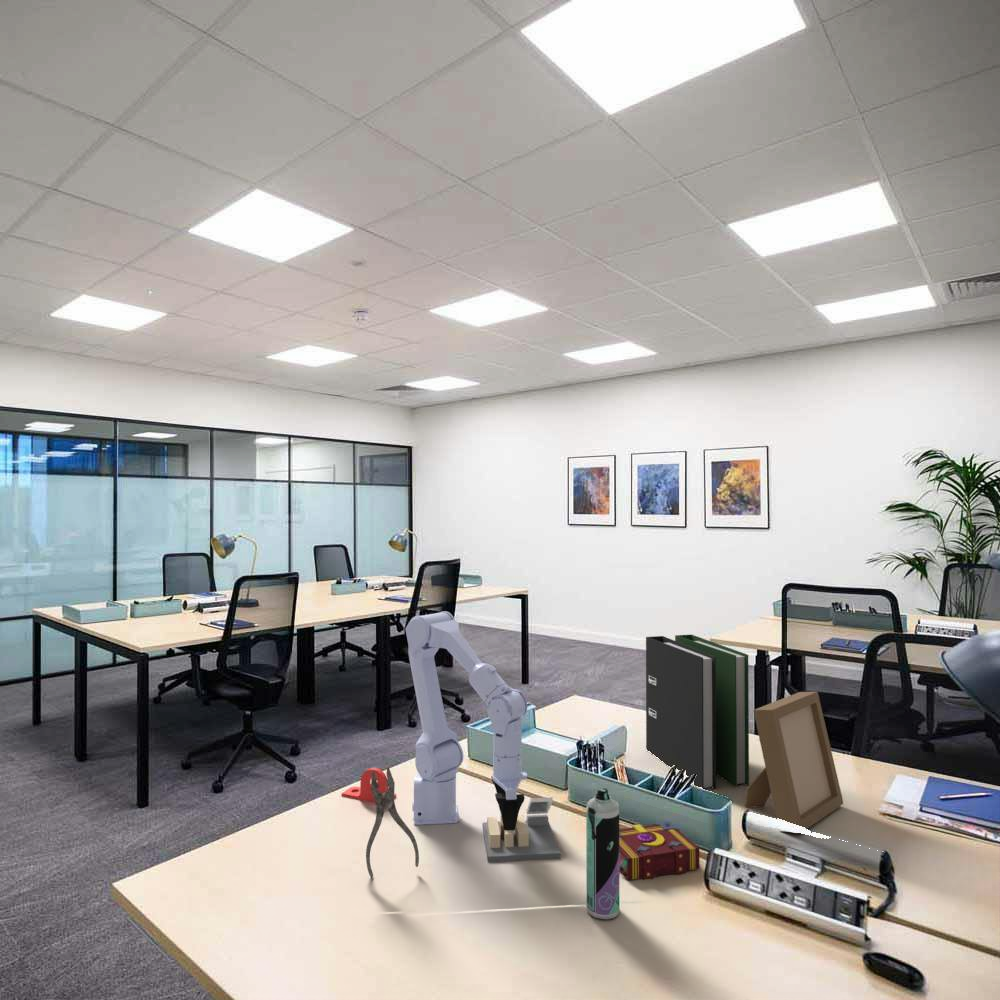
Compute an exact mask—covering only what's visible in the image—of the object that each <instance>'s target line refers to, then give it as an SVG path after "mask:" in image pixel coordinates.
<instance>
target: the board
mask: <svg viewBox="0 0 1000 1000" xmlns="http://www.w3.org/2000/svg"><path fill="white" fill-rule="evenodd" d="M481 825H482V833H483V838H484V839H483V840H484V844H485V845H484V847H485V853H486V859H487V862H488V863H490V862H491V863H492V862H493V863H494V862H495V863H496V862H511V861H534V860H535V861H536V860H551V859H561V850H560V849H559V846H558V843H557V840H556V838H555V835H554V832H553V830H552V827H551V824H550V821H549V816H548V814H526V820H525V816H524V815H518V818H517V823H516V827H515V830H514V838H513V830H508V831H505V830H504V840H502V839H501V821H498V818H497V816H493V817H491V816H488V817H486V822H485V821H483V822H482V824H481Z"/></svg>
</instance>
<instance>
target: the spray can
mask: <svg viewBox="0 0 1000 1000" xmlns="http://www.w3.org/2000/svg"><path fill="white" fill-rule="evenodd" d="M585 811H586V812H585V813H586V815H585V816H586V817H585V818H586V821H585V822H586V825H585V826H586V827H585V828H586V850H585V851H586V852H585V853H586V873H585V874H586V911H587V912H588V914H590V915H591V916H592V917H593V918H596V919H600V920H611V919H614V918H616V917H617V916H619V913H620V870H619V828H620V807H619V803H618V801H616V800H615V799H612V797H611V796H610V795H609V790H608V788H600V789H597V793H596V795H594V797H592V798H590V799H589V800H588V801H586V810H585Z"/></svg>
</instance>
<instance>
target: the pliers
mask: <svg viewBox="0 0 1000 1000" xmlns="http://www.w3.org/2000/svg"><path fill="white" fill-rule="evenodd" d="M386 777H387V781H386V786H388V790H386V791H385V793H382V792H379V791H378V790H377V789H378V788H379V783H378V782H377V780H376V775H375V772H374V769H372V778H371V781H370V783H371V791H372V794H373V798H374V801H375V803H374V804H375V808H376V809H375V811H376V815H375V821H374V824H373V827H372V829H371V833H370V835H369V839H368V840H367V844H366V850H365V863H366V864H365V865H366V869H367V872H368V875H369V877H370V878H371V879H372V878H374V873H373V869H372V866H371V850H372V846H373V843H374V842H375V841H374V840H375V838H376V836H377V834H378V832H379V829H380V828H381V825H382V821H383V818H384V813H385V811H388V813H389V814H390V817H392V819H393V820H394V822H395V823H396V824H397V825H398V826H399V827H400V829H402V830H403V832H404V833H405V834H406V835H407V837H409V839H410V841H411V843H412V845H413V850H414V856H415V858H414V860H415V862H414V863H415V865H414V866H415V867H416V868H417V867H419V863H420V856H419V855H420V853H419V852H420V851H419V847H418V843H417V840H416V838H415V836H414V834H413V832H412V831H411V829H410V828H409V827H408V826H407V824H406V823H405V821H404V820H403V819H402V817H401V816H400V814H399V813H398V811H397V807H396V803H395V798H394V794H395V786H396V785H395V781H394V780H395V779H394V778H393V775H392V772H391V769H390V766H389V765H387V766H386Z"/></svg>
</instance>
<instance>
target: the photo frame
mask: <svg viewBox="0 0 1000 1000" xmlns="http://www.w3.org/2000/svg"><path fill="white" fill-rule="evenodd" d="M752 710H753V715H754V719H755V724H756V730H757V734H758V737H759V738H758V739H759V742H760V743H759V744H760V748H761V752H762V756H763V762H764V765H765V766H764V768H763V769H762V771H760V773H759V774H758V775H757V776H755V778H754V779H753V780H752V782H750V783H749V786H747V787H746V793H745V800H744V801H745V802H744V807H745V808H755V807H758V808H759V807H765V805H766V803H767V801H768V799H769V797H770V795H771V800H772V803H773V808H774V809H773V810H774V813H775V818H776V819H777V818H779V819H782V820H785V821H787V822H790V823H793V824H796V825H799V826H802V827H805V828H808V829H809V828H811V827H812V826H813V825H815V824H816V823H818V822H819V821H821V820H822V819H823V818H825V817H826V816H828V815H829V814H830V813H832V812H834V811H836V809H838V808H840V807H841V806H842V805H843V804H844V800H843V795H842V790H841V786H840V781H839V778H838V773H837V769H836V765H835V761H834V756H833V750H832V748H831V744H830V739H829V735H828V731H827V727H826V726H827V725H826V722H825V718H824V713H823V709H822V706H821V701H820V696H819V692H818V691H799V692H796V693H793V694H792V695H789V696H786V697H783V698H781V699H778V700H776V701H773V702H770V703H767V704H765V705H762V706H761V707H757V708H755V709H752ZM753 806H755V807H753Z"/></svg>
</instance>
